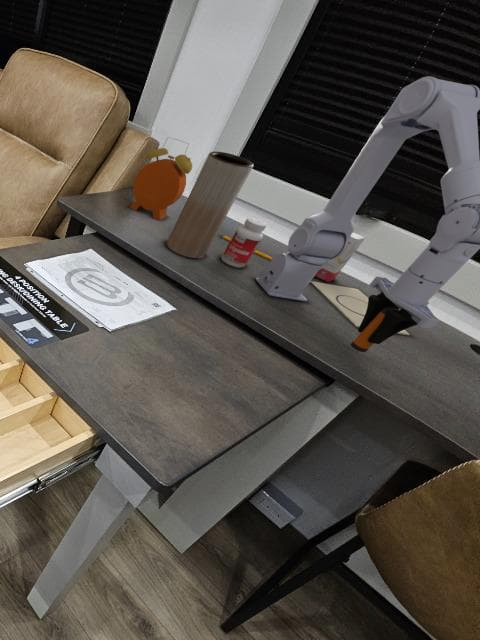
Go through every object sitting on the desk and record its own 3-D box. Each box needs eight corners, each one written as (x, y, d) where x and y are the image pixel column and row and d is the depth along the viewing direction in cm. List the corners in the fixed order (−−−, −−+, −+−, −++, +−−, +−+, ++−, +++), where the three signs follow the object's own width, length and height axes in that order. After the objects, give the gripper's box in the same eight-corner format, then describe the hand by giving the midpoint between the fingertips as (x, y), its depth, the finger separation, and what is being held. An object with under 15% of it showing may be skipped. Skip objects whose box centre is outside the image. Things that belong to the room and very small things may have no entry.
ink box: (334, 279, 120) (367, 237, 112) (326, 283, 117) (359, 240, 109) (303, 264, 124) (332, 222, 116) (294, 267, 122) (324, 225, 114)
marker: (355, 351, 88) (391, 312, 82) (347, 342, 90) (381, 304, 84) (369, 353, 89) (406, 315, 82) (360, 344, 91) (395, 306, 85)
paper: (355, 326, 101) (357, 325, 101) (310, 282, 116) (311, 280, 116) (409, 335, 102) (410, 334, 102) (357, 290, 117) (358, 288, 117)
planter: (208, 252, 120) (258, 162, 105) (197, 262, 114) (248, 168, 99) (173, 237, 124) (216, 148, 109) (160, 247, 118) (204, 154, 103)
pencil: (283, 267, 121) (285, 264, 121) (221, 238, 130) (223, 235, 130) (285, 266, 121) (286, 264, 121) (223, 237, 131) (224, 235, 130)
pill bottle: (217, 260, 117) (241, 219, 110) (224, 254, 121) (247, 214, 113) (241, 270, 115) (267, 229, 107) (247, 264, 118) (272, 223, 111)
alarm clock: (172, 218, 136) (205, 146, 122) (164, 222, 132) (197, 148, 119) (132, 202, 141) (160, 131, 128) (124, 205, 137) (152, 133, 124)
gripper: (480, 301, 73) (412, 364, 83) (419, 259, 84) (364, 319, 93) (440, 294, 73) (376, 358, 82) (384, 253, 84) (333, 313, 93)
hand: (368, 337), depth 88 cm, fingers closed on marker, 3 cm apart
